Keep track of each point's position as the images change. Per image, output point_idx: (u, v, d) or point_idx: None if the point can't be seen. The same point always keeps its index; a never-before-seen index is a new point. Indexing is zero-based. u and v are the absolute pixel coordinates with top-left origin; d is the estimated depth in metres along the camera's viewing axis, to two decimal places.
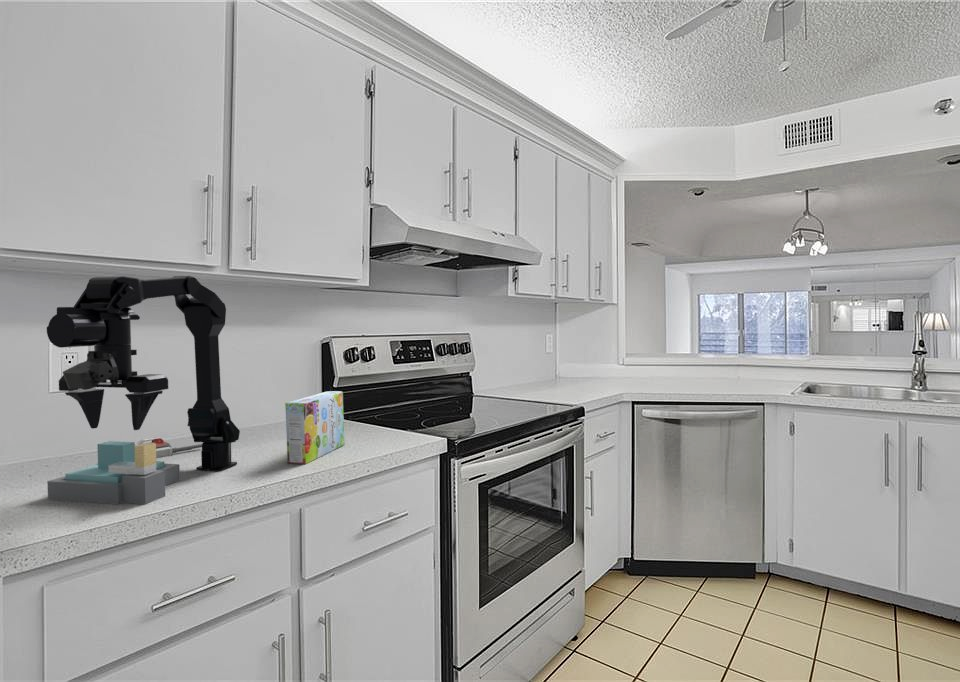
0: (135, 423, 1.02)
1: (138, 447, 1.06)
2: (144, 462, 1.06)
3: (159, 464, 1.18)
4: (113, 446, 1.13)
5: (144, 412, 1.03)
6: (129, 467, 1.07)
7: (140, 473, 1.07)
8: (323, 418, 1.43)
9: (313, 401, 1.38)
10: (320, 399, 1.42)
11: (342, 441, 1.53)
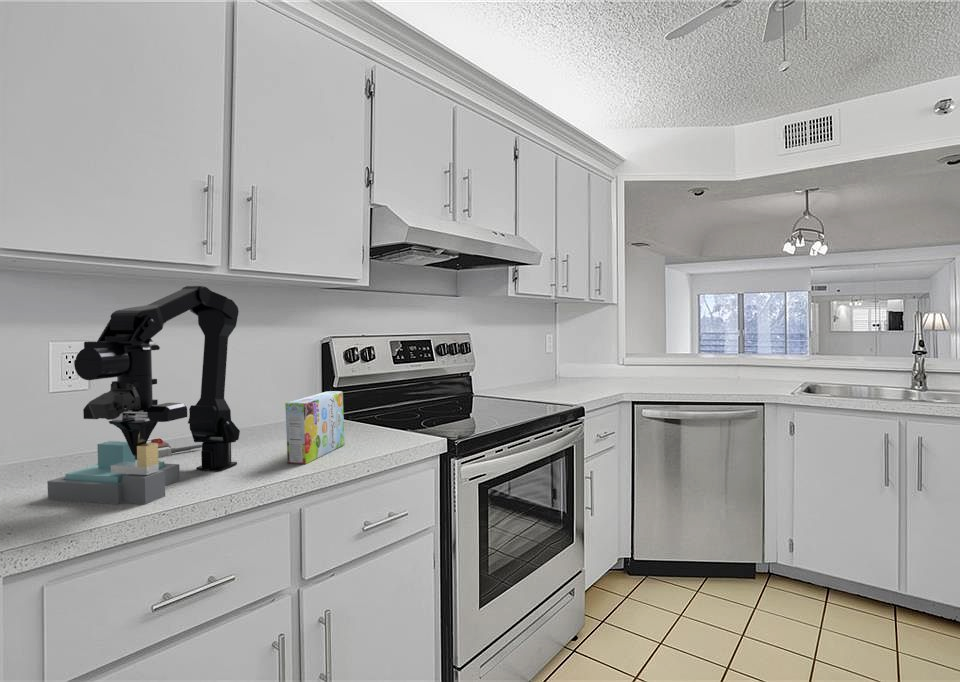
0: (136, 449, 1.07)
1: (140, 447, 1.06)
2: (146, 462, 1.06)
3: (159, 464, 1.18)
4: (113, 446, 1.13)
5: (145, 438, 1.09)
6: (131, 467, 1.07)
7: (142, 473, 1.06)
8: (323, 418, 1.43)
9: (313, 401, 1.38)
10: (320, 399, 1.42)
11: (342, 441, 1.53)
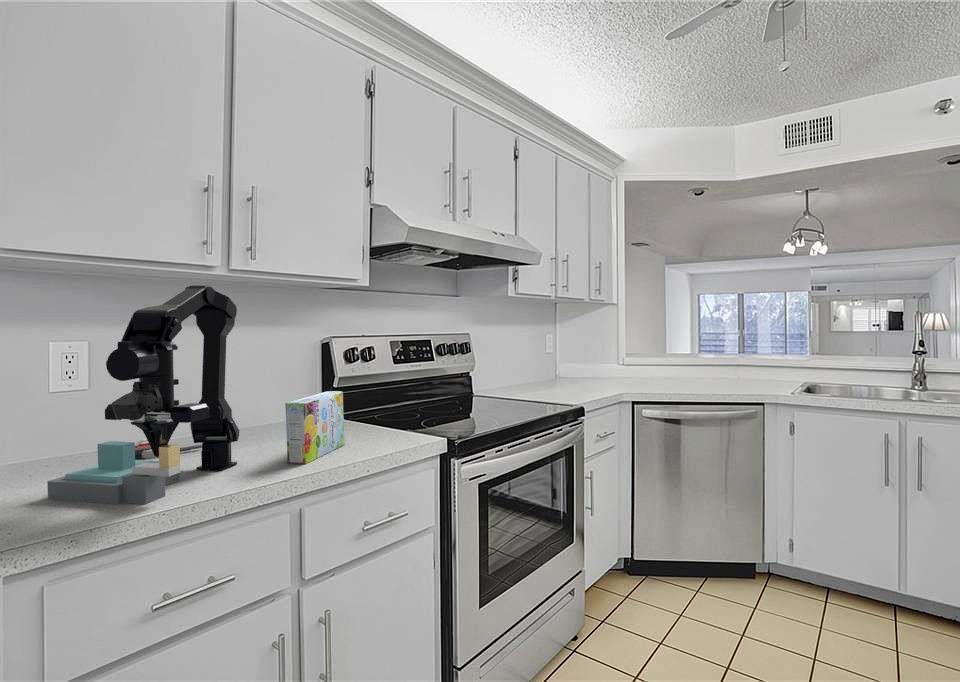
0: (158, 450, 1.06)
1: (162, 448, 1.05)
2: (169, 463, 1.05)
3: None
4: (113, 446, 1.13)
5: (166, 439, 1.08)
6: (153, 468, 1.06)
7: (164, 474, 1.06)
8: (323, 418, 1.43)
9: (313, 401, 1.38)
10: (320, 399, 1.42)
11: (342, 441, 1.53)
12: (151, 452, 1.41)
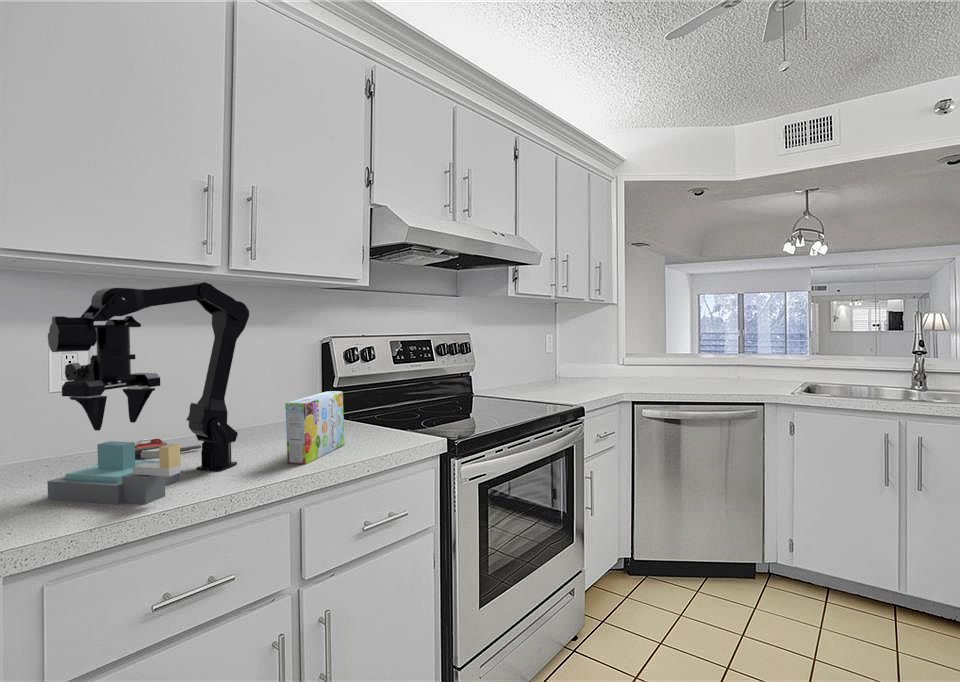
0: (92, 423, 1.10)
1: (163, 448, 1.05)
2: (169, 463, 1.05)
3: None
4: (113, 446, 1.13)
5: (96, 415, 1.09)
6: (153, 468, 1.06)
7: (165, 474, 1.06)
8: (323, 418, 1.43)
9: (313, 401, 1.38)
10: (320, 399, 1.42)
11: (342, 441, 1.53)
12: (150, 452, 1.40)
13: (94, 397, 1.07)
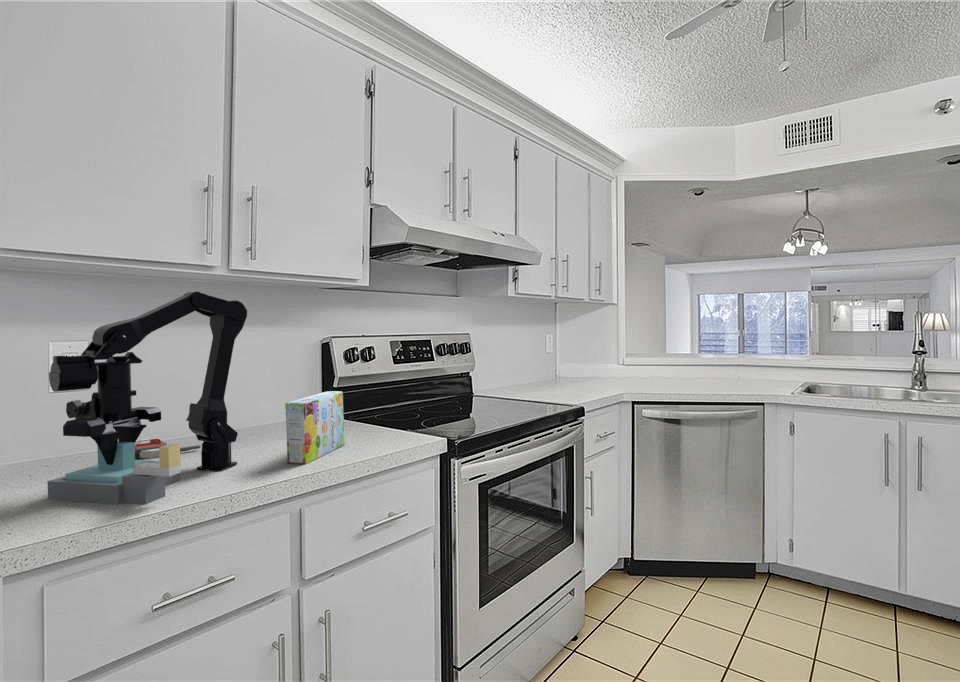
0: (104, 458, 1.13)
1: (163, 448, 1.05)
2: (169, 463, 1.05)
3: None
4: None
5: (109, 450, 1.12)
6: (153, 468, 1.06)
7: (165, 474, 1.06)
8: (323, 418, 1.43)
9: (313, 401, 1.38)
10: (320, 399, 1.42)
11: (342, 441, 1.53)
12: (149, 452, 1.40)
13: (107, 433, 1.09)
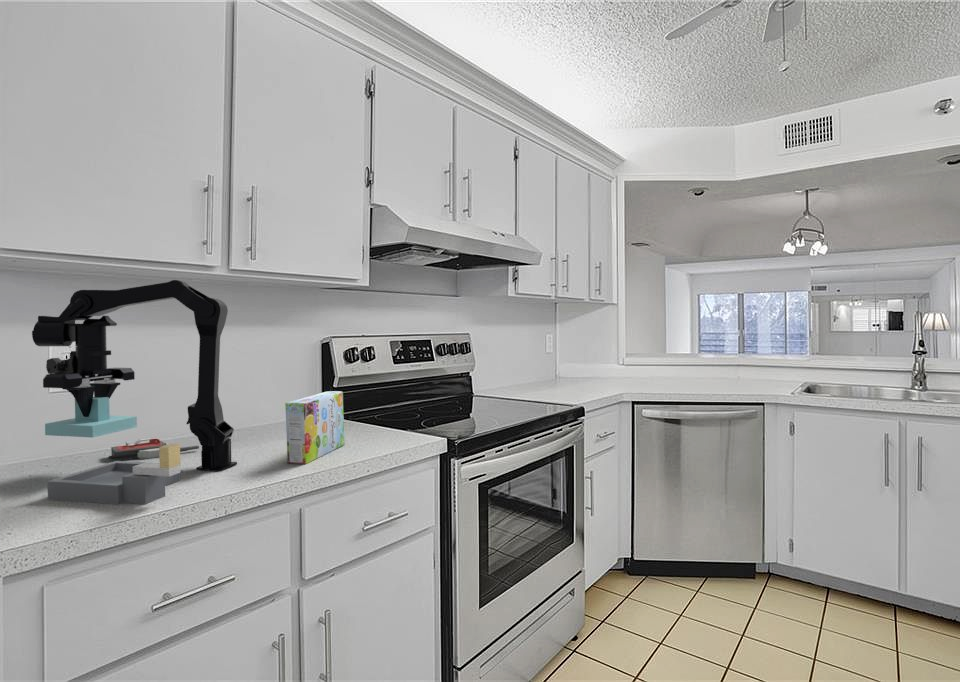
0: (81, 411, 1.24)
1: (163, 448, 1.05)
2: (169, 463, 1.05)
3: (132, 418, 1.30)
4: None
5: (85, 403, 1.23)
6: (153, 468, 1.06)
7: (165, 474, 1.06)
8: (323, 418, 1.43)
9: (313, 401, 1.38)
10: (320, 399, 1.42)
11: (342, 441, 1.53)
12: (146, 452, 1.40)
13: (83, 387, 1.21)
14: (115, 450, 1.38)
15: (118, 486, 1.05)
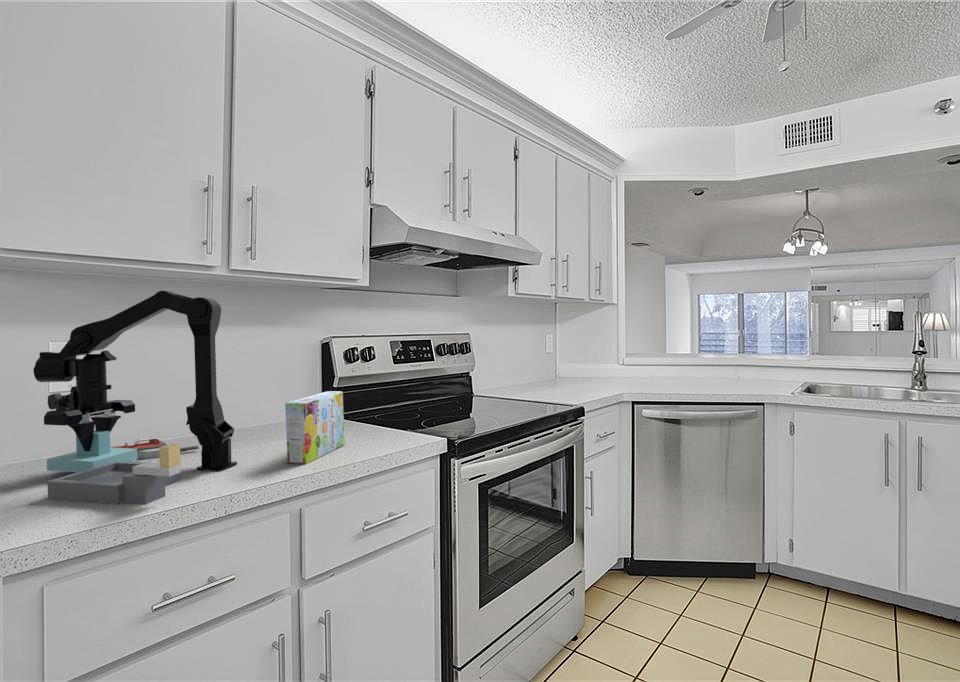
0: (82, 445, 1.26)
1: (163, 448, 1.05)
2: (169, 463, 1.05)
3: (132, 451, 1.31)
4: None
5: (86, 438, 1.25)
6: (153, 468, 1.06)
7: (165, 474, 1.06)
8: (323, 418, 1.43)
9: (313, 401, 1.38)
10: (320, 399, 1.42)
11: (342, 441, 1.53)
12: (145, 452, 1.40)
13: (84, 423, 1.22)
14: None
15: (118, 486, 1.05)
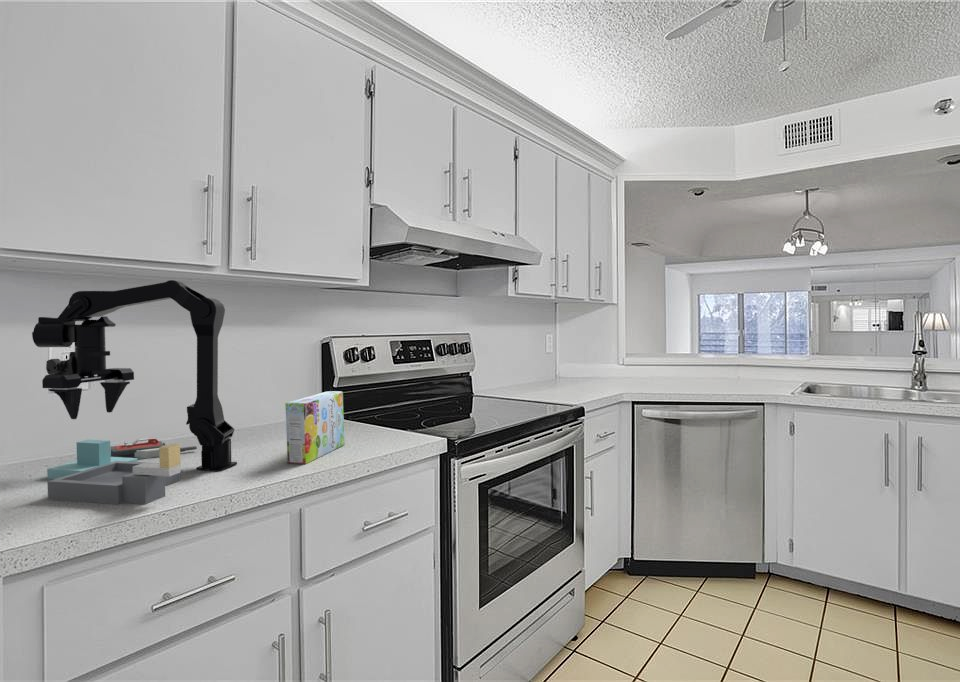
0: (69, 413, 1.22)
1: (163, 448, 1.05)
2: (169, 463, 1.05)
3: (132, 460, 1.31)
4: (90, 444, 1.26)
5: (73, 405, 1.22)
6: (153, 468, 1.06)
7: (165, 474, 1.06)
8: (323, 418, 1.43)
9: (313, 401, 1.38)
10: (320, 399, 1.42)
11: (342, 441, 1.53)
12: (143, 452, 1.40)
13: (70, 389, 1.19)
14: (112, 450, 1.39)
15: (118, 486, 1.05)
